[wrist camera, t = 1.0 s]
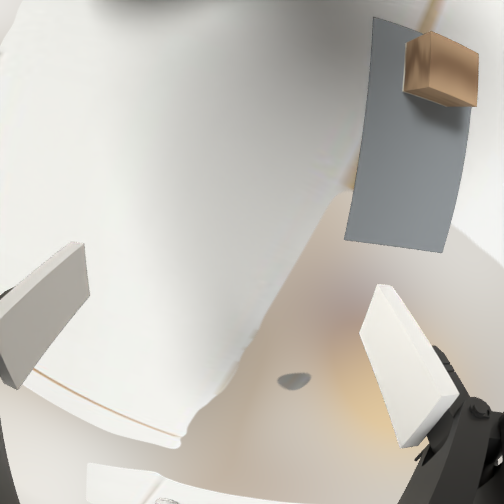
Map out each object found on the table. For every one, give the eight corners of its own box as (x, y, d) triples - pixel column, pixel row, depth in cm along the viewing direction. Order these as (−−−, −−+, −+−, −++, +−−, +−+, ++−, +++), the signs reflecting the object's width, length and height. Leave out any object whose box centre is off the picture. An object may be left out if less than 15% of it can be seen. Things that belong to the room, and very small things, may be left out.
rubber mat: (373, 17, 28) (373, 16, 27) (472, 57, 28) (473, 56, 28) (344, 239, 39) (344, 240, 39) (441, 252, 39) (442, 253, 39)
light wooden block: (405, 43, 28) (431, 30, 22) (449, 60, 28) (478, 53, 22) (402, 91, 31) (428, 86, 25) (446, 106, 31) (476, 106, 25)
